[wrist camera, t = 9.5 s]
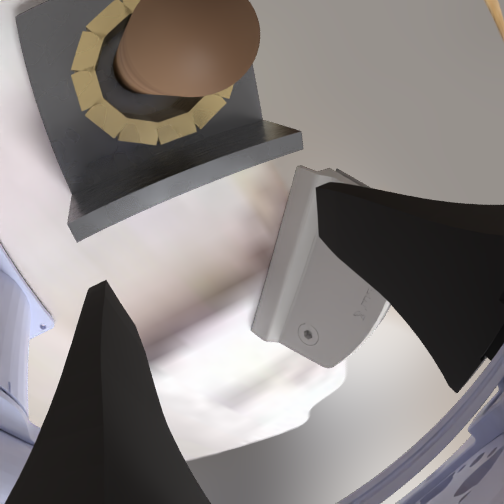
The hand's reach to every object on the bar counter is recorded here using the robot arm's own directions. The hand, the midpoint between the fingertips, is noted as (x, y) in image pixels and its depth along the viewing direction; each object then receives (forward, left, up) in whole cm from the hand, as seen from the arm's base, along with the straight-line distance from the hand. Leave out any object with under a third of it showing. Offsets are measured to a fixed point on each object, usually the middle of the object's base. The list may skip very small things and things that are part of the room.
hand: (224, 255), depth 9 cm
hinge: (+10, -12, -11) cm, 19 cm away
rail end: (+1, +6, -9) cm, 11 cm away
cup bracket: (+1, +6, -10) cm, 12 cm away
